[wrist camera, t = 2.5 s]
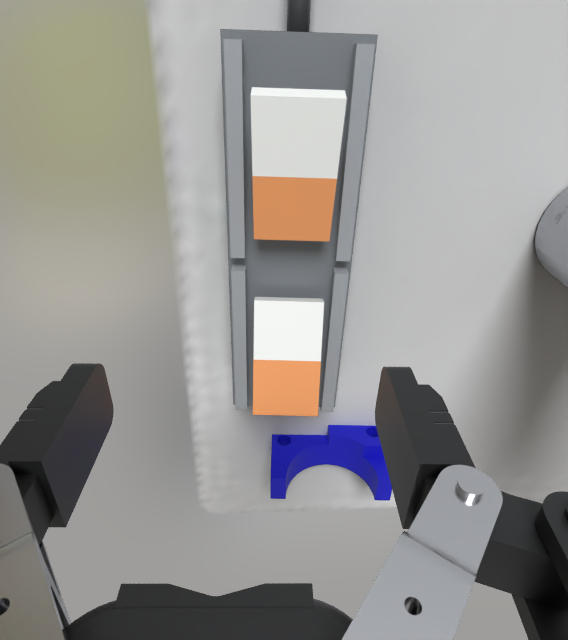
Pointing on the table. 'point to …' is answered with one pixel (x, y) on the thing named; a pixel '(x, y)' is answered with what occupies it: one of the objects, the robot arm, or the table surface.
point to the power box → (243, 250)
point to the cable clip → (331, 457)
